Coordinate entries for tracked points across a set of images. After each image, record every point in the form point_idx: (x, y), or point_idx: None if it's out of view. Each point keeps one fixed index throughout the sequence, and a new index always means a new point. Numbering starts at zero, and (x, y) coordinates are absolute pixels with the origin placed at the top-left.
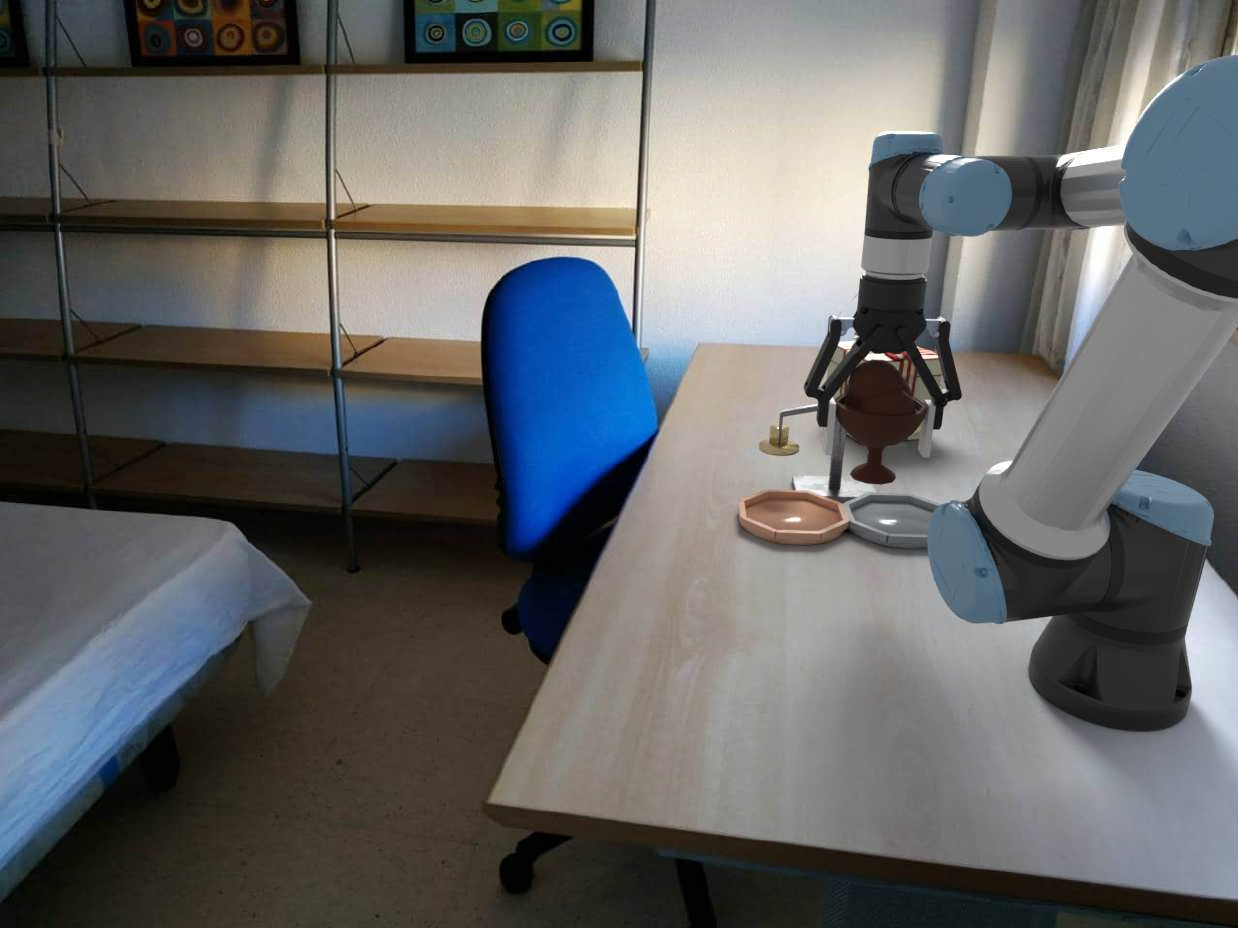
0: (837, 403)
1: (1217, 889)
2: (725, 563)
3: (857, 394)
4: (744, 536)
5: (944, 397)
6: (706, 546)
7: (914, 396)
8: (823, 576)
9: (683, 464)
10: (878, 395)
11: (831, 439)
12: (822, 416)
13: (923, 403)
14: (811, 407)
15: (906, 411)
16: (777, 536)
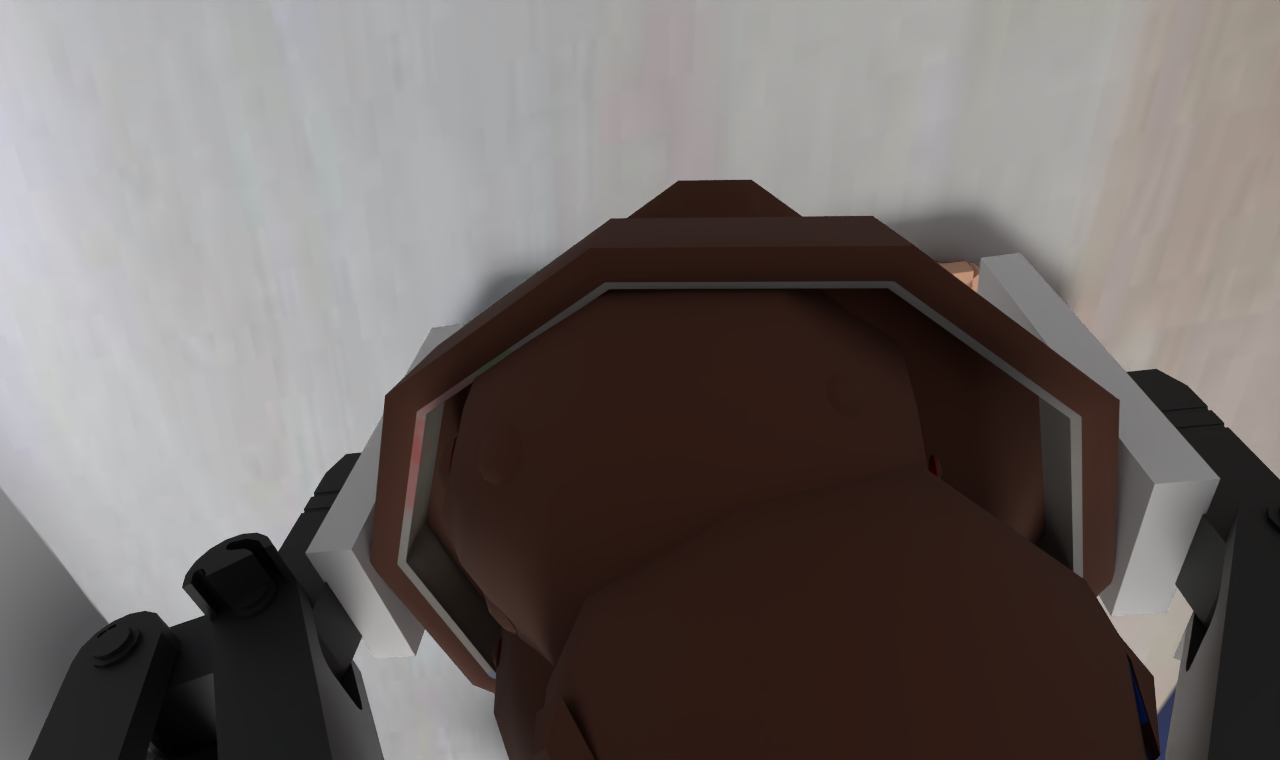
0: (1108, 523)
1: None
2: (1166, 79)
3: (1024, 540)
4: (1050, 285)
5: (216, 625)
6: (1201, 192)
7: None
8: (833, 61)
9: (1128, 637)
10: (811, 498)
11: (1031, 305)
12: (1184, 421)
13: (411, 605)
14: None
15: (507, 371)
16: (964, 264)
